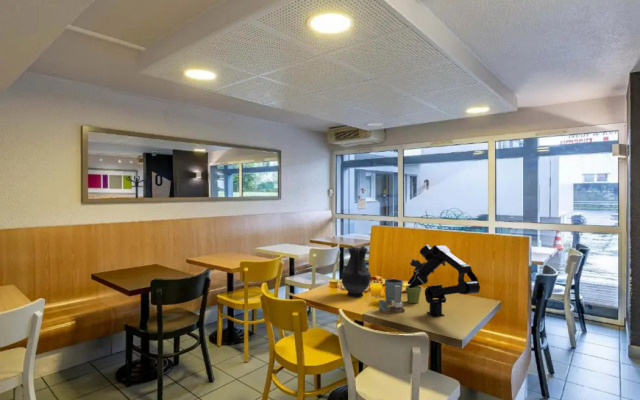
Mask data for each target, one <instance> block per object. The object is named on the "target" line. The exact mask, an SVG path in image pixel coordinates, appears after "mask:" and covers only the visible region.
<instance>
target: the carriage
mask: <svg viewBox="0 0 640 400" xmlns="http://www.w3.org/2000/svg"><path fill="white" fill-rule="evenodd" d="M400 290H401V286H399V285H395V301H392V303H391V305H392V306H394V307H403V308H404V303H403V302H402V301H401V302H400Z"/></svg>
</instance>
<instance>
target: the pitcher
mask: <svg viewBox="0 0 640 400" xmlns="http://www.w3.org/2000/svg"><path fill="white" fill-rule="evenodd" d="M347 250H348V253H349V259H348V261H347V264H346V266H345V268H344V269H343V270H342V271H341V282H342V286H343V287H344V289H345V290H346V291H347V294H346V295H347V296H348V297H351V298H361V297H364V294H363V292H364V291H366V290H367V289H368V288H369V285H370V283H371V272H370V271H369V270H368V267H367V266H366V260H365V258H366V254H367V252H368V248H366V247H360V246H358V247H357V246H350V247H348V248H347Z"/></svg>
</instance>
